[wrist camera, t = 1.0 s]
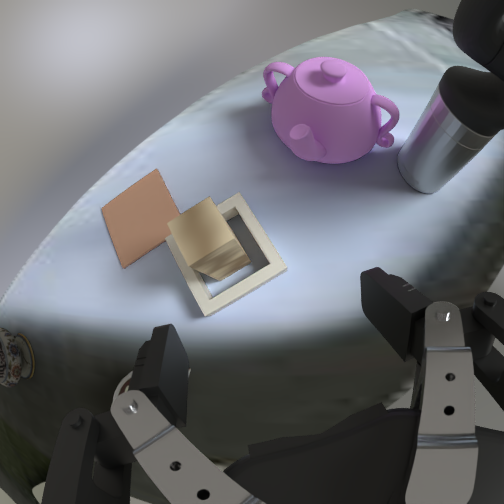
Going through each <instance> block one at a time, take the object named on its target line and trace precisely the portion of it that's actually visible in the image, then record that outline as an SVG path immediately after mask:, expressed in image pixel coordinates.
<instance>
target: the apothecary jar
mask: <svg viewBox="0 0 504 504" xmlns="http://www.w3.org/2000/svg"><path fill="white" fill-rule="evenodd" d="M34 370H35V359H34V353H33V350H32V347H31V345H30V343H29V341H28V339H27V338H26V337H25V336H24V335H23V334H20V333H18V335H17V336H16V337H15V336H14V337H13V336H12V334H11V333H10V332H9V331H7V330H6V329H4V328H0V383H1V384H2V385H4V386H6V387H14V386H15V385H17V383H18V382H19V380H20V377H22V378H24V379H30V378H31V377H32V376H33V374H34Z"/></svg>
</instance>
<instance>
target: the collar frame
mask: <svg viewBox="0 0 504 504" xmlns="http://www.w3.org/2000/svg"><path fill="white" fill-rule="evenodd" d="M216 207H217V208H218V210H219V211H220V213H221V214H222V216H223V217H224V219H225V220H226V221H228V220H229V219H231V218H233V217H234V216H236V215H238V214H239V215H240V216H241V218H242V220H243V221H244V223H245V225H246V226H247V228H248V229H249V231H250V233H251V234H252V236H253V237H254V239H255V241H256V242H257V244H258V246H259V247H260V249H261V250H262V252H263V254H264V255H265V257H266V259H267V260H268V262H269V263H270V264H269V265H267V266H266V267H264V268H262V269H261V270H259V271H257V272H256V273H254V274H252V275H251V276H249V277H247V278H246V279H244V280H242V281H241V282H239V283H237V284H236V285H234V286H232V287H231V288H229V289H227V290H226V291H224V292H222V293H221V294H219V295H217V296H215V297H214V298H213V297H212V295H211V293H210V291H209V290H208V288H207V286H206V284H205V282H204V280H203V279H202V277H201V275H200V273H199V271H197V270H195V269H193V268H191V267H189V266H188V264H187V262H186V261H185V259H184V257H183V255H182V253H181V251H180V249H179V247H178V245H177V243H176V241H175V239H174V237H173V235H172V234H171V235H169V236H168V237H166V238H165V240H166V242H167V244H168V246H169V248H170V250H171V252H172V254H173V256H174V258H175V260H176V262H177V264H178V266H179V268H180V270H181V272H182V274H183V276H184V278H185V280H186V282H187V284H188V286H189V288H190V290H191V292H192V294H193V295H194V297H195V299H196V301H197V303H198V305H199V307H200V308H201V310H202V312H203V314H204V316H212V315H214V314H215V313H217V312H219V311H221V310H222V309H224V308H226V307H228V306H229V305H231V304H233V303H234V302H236V301H238V300H239V299H241V298H243V297H245V296H246V295H248V294H250V293H251V292H253V291H255V290H256V289H258V288H260V287H261V286H263V285H265V284H266V283H268V282H270V281H271V280H273V279H275V278H276V277H278V276H279V275H281V274H283V273H284V272H286V271H287V266H286V265H285V263H284V261H283V260H282V258H281V257H280V255H279V253H278V252H277V250H276V249H275V247H274V245H273V244H272V242H271V241H270V239H269V237H268V236H267V234H266V233H265V231H264V230H263V228H262V226H261V225H260V223H259V222H258V220H257V219H256V217H255V215H254V214H253V212H252V211H251V209H250V208H249V206H248V205H247V203H246V201H245V200H244V198H243V197H242V195H241V194H240V192H239V193H237V194H235V195H233V196H232V197H230V198H228V199H227V200H225V201H223V202H222V203H220V204H218V205H217V206H216Z"/></svg>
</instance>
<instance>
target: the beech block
mask: <svg viewBox="0 0 504 504" xmlns="http://www.w3.org/2000/svg"><path fill="white" fill-rule="evenodd" d="M167 225H168V227H169V229H170V231H171V233H172V235H173V237H174V239H175V241H176V243H177V245H178V247H179V249H180V251H181V253H182V255H183V257H184V259H185V261H186V262H187V264H188V266H189V267H191V268H193V269H195V270H197V271H199V272H202V273H204V274H206V275H208V276H210V277H212V278H214V279H216V280H219V281H222V280H223V279H225V278H227V277H228V276H230V275H232V274H233V273H235V272H237V271H238V270H240V269H242V268H243V267H245V266H247V265H248V264H250V263H251V261H250V259H249V257H248V256H247V254H246V252H245V251H244V249H243V247H242V246H241V244H240V242H239V241H238V239H237V237H236V236H235V234H234V232H233V231H232V229H231V228H230V226H229V225H228V223H227V222H226V220H225V219H224V217H223V216H222V214H221V213H220V211H219V210H218V208H217V207H216V205H215V204H214V202H213V201H212V199H211V198H210V196H209V197H208V198H206V199H205V200H203V201H201V202H200V203H198V204H196V205H195V206H193V207H192V208H190V209H188V210H187V211H185V212H184V213H182V214H181V215H179V216H177V217H176V218H174V219H173V220H171V221H170V222H168V223H167Z"/></svg>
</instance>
